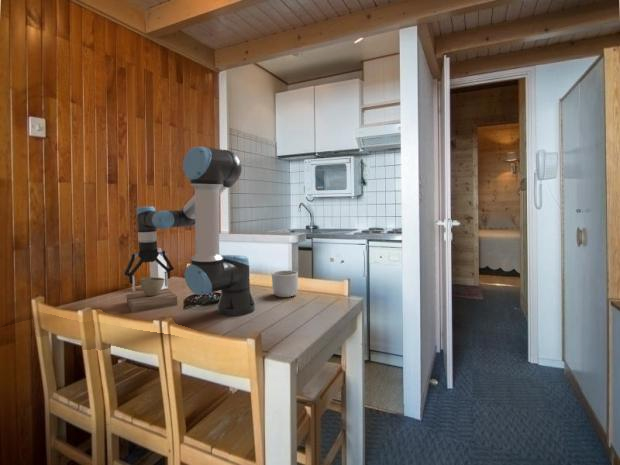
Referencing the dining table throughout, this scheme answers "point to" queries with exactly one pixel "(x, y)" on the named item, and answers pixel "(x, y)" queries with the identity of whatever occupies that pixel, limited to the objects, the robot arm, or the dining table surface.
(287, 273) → the planter
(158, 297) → the stand
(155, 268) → the milk
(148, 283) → the olive green bowl
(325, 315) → the dining table surface
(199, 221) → the robot arm
